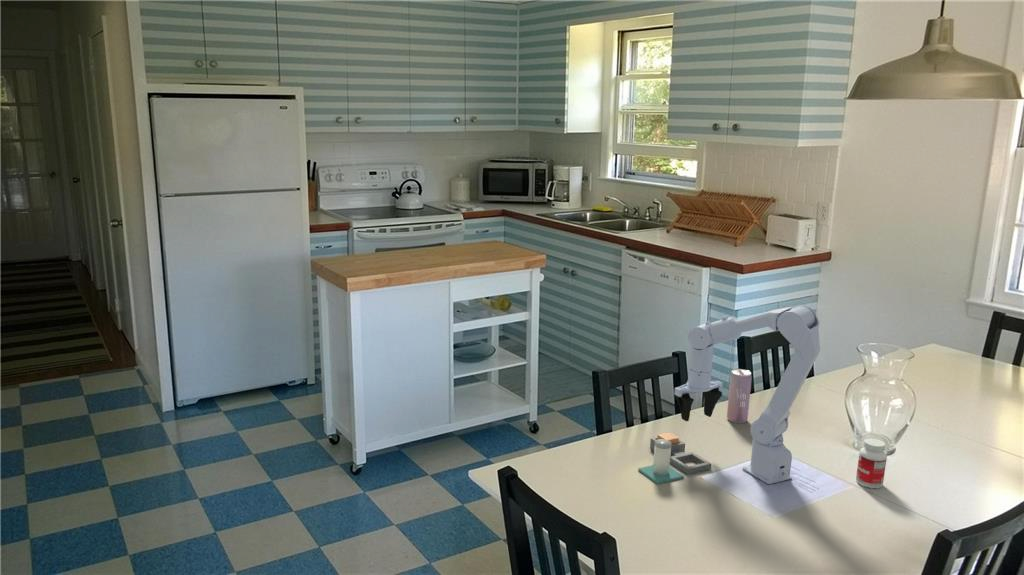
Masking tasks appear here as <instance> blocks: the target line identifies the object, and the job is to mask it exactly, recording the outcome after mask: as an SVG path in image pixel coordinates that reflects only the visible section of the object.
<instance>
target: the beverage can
mask: <svg viewBox="0 0 1024 575" xmlns="http://www.w3.org/2000/svg"><path fill="white" fill-rule="evenodd" d="M729 376H730V379H729V386H728V387H729V389H728V399H727V410H726V411H727V412H726V418H727V419H728V421H729V422H731V423H735V424H744V423H746V422H747V421H748V417H749V409H750V399H751V398H750V397H751V395H750V394H751V388H752V372H751V371H750V370H748V369H747V370H746V369H742V368H736V369H732V370H731V372H730V375H729Z"/></svg>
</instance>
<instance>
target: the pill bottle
mask: <svg viewBox="0 0 1024 575" xmlns="http://www.w3.org/2000/svg"><path fill="white" fill-rule="evenodd" d="M885 449H886V443H885V442H884V441H882V440H879V439H876V438H865V439H864V441H863V447H861V448H860V449H859V453H858V454H859V455H858V460H857V469H856V475H855V476H856V477H855V480H856V482H857V484H859V486H862V487H864V486H865V487H864V488H867V487H869V488H868V489H873V488H876V489H881V488H882V487H883V485H884V481H885V472H886V466H887V459H888V456H887V453H886V452H885ZM880 487H881V488H880Z"/></svg>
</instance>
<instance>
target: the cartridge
mask: <svg viewBox="0 0 1024 575" xmlns="http://www.w3.org/2000/svg"><path fill="white" fill-rule="evenodd" d="M653 452H654V453H653V461H652V462H653V463H652V464H653V473H654V474H656V475H660V476H665V475H668V474H669V466H670V465H671V463H670V454H671V442H670V441H668V440H665V439H658V440H656V441H655V449H654V451H653ZM670 467H671V466H670Z"/></svg>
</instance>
